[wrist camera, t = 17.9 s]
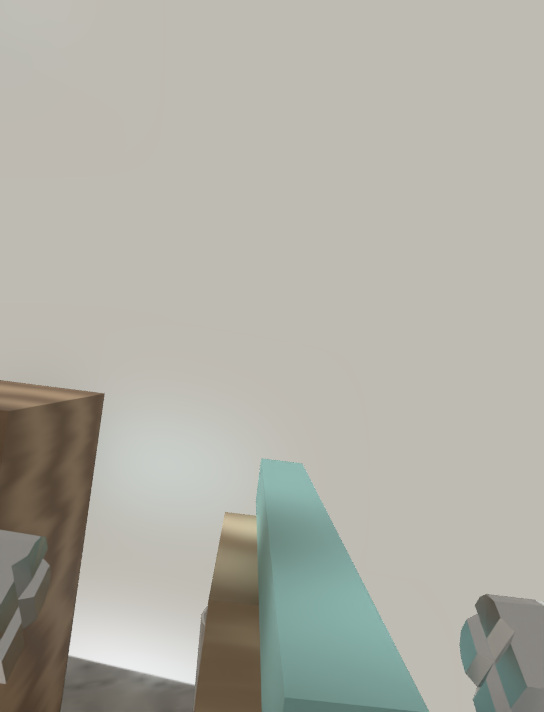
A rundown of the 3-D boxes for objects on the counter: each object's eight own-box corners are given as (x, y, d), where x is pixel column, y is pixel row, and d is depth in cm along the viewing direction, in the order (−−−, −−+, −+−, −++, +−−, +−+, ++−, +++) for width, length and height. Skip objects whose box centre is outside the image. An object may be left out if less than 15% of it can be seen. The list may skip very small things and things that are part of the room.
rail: (411, 861, 10) (429, 712, 10) (265, 848, 10) (284, 697, 10) (296, 504, 36) (302, 463, 36) (256, 499, 36) (261, 458, 36)
